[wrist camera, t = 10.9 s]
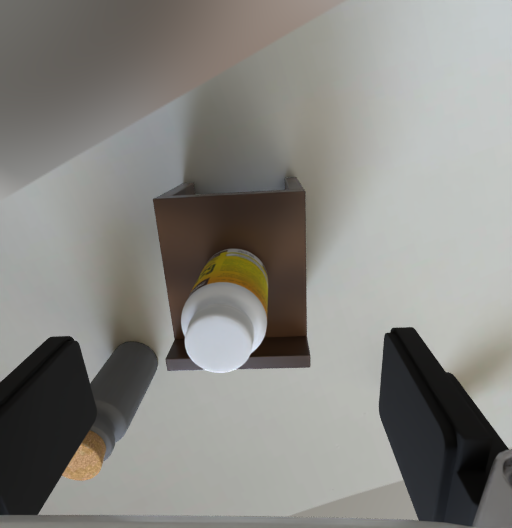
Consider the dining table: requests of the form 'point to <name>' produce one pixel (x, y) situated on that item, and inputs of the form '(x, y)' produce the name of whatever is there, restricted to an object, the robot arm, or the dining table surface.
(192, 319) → the supplement bottle
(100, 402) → the bottle
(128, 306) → the dining table surface
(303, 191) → the shelf
